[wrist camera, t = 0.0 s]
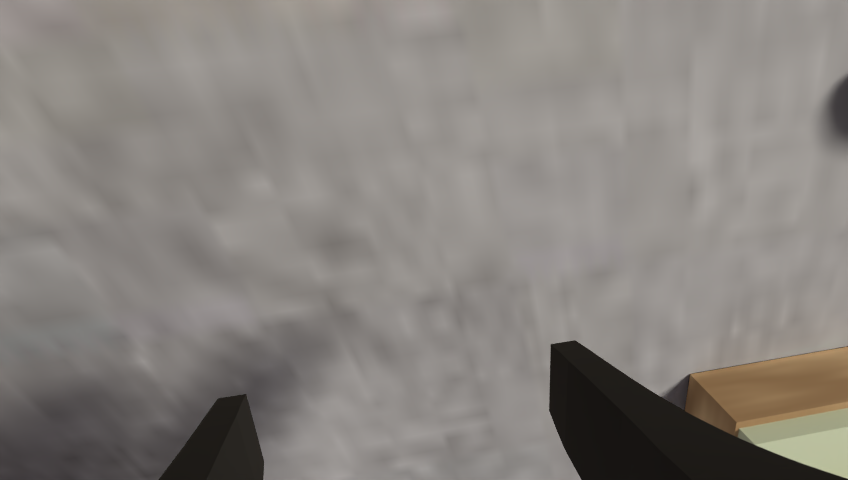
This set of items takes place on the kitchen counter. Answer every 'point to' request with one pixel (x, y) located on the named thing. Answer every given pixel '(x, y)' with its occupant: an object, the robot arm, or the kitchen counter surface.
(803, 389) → the wooden slab
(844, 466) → the lid
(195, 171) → the kitchen counter surface
